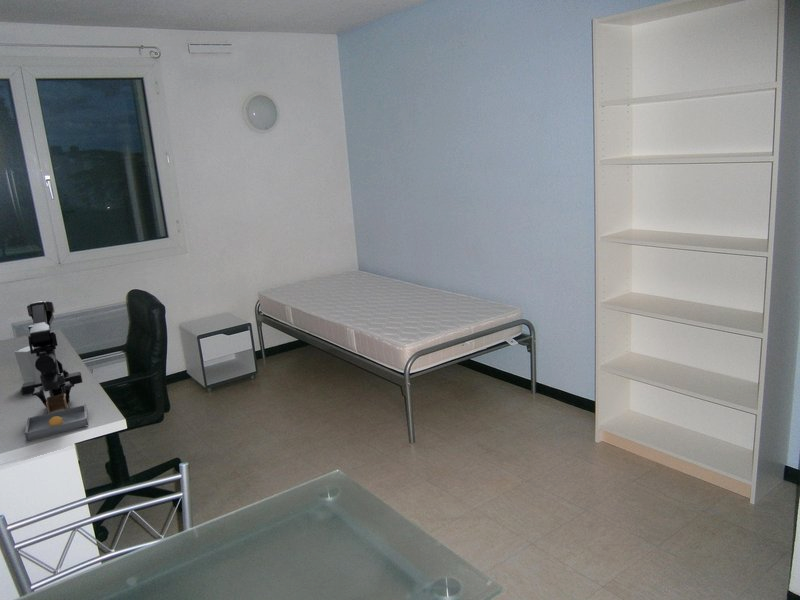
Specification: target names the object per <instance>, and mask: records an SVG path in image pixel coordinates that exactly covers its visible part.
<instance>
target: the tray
mask: <svg viewBox="0 0 800 600" xmlns="http://www.w3.org/2000/svg"><path fill="white" fill-rule="evenodd" d="M88 414H89V412H88V408H87V404H82V405H78V406H74V407H70V408H69V407H68V409H65V410H61V411H56V412H52V413H48V412H47V413H43V414H39V415H35V416H32V417H28V418H27V422H26V425H25V426H26V427H25V431H24V436H25V439H26V441H27V440H28V441H32V440H36V439H39V437H40V438H43V436H44V437H47V435H48V436H50V435H55V434H59V433H63V432H67V430H68V431H72V430H76V429H79V428H78V427H80V428H82V427H81V426H84V427H87V426H86V425H88V426H89V416H88ZM54 416H59V417H61V418H62V419H63V424H60V425H56V426H52V427H51V426H50V425H49V421H50V419H51V418H52V417H54ZM75 428H76V429H75ZM71 429H72V430H71ZM35 438H36V439H35ZM31 439H32V440H31Z"/></svg>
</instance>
